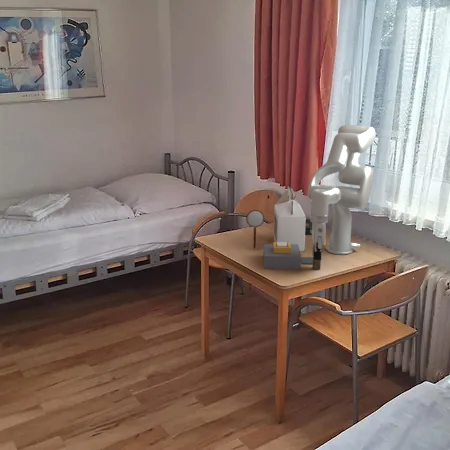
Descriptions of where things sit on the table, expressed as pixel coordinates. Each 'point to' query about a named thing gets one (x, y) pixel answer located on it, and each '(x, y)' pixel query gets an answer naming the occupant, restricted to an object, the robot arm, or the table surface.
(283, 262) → the box
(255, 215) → the magnifying glass
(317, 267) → the brown cylinder
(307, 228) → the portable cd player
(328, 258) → the table surface
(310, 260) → the pad
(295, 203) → the gable box
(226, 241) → the table surface
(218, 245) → the table surface
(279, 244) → the button
